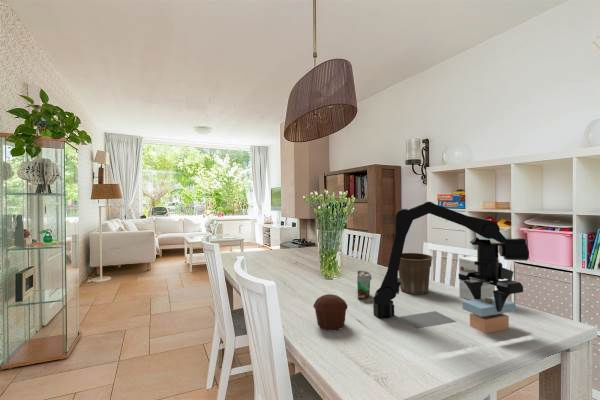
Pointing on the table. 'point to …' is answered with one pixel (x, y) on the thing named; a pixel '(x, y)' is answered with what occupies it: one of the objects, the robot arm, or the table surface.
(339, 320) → the muffin
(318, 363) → the table surface
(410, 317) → the mat
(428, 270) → the plant pot
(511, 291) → the robot arm
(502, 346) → the table surface
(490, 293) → the supplement box
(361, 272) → the food container
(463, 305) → the lid
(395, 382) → the table surface
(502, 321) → the orange open box
